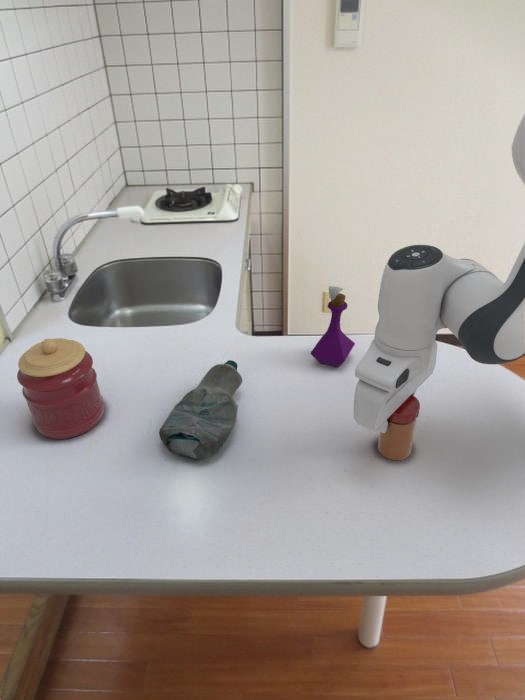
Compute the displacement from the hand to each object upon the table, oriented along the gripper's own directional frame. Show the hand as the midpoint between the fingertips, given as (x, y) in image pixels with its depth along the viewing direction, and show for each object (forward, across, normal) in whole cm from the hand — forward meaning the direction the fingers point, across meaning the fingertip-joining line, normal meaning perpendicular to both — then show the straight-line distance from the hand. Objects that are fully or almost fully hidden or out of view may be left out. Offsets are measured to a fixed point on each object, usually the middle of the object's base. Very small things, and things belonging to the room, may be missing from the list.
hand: (393, 418), depth 88 cm
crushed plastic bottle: (+6, +15, -30) cm, 34 cm away
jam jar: (+6, 0, +1) cm, 6 cm away
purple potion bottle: (+7, -15, -23) cm, 28 cm away
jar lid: (-4, 0, +1) cm, 4 cm away
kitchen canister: (+6, +32, -51) cm, 60 cm away
